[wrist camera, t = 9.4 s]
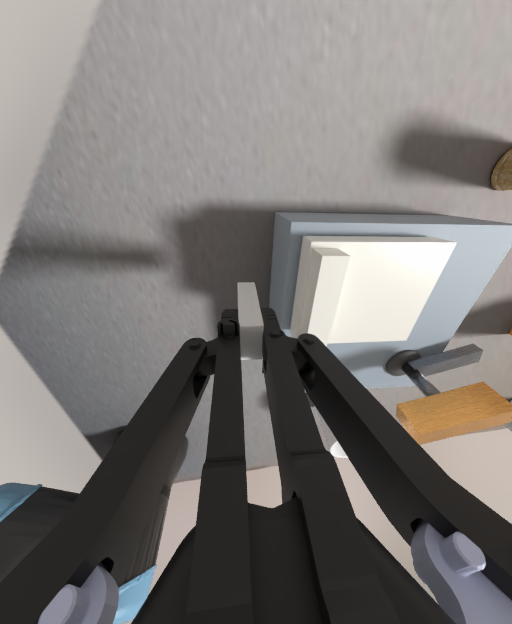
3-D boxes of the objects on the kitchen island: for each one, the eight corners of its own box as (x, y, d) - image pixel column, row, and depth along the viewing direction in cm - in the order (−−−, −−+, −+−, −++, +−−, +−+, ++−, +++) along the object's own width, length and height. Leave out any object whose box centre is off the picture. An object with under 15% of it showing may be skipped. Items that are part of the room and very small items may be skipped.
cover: (289, 331, 22) (300, 359, 19) (303, 235, 17) (321, 248, 14) (392, 328, 24) (421, 353, 20) (434, 236, 18) (482, 249, 15)
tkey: (371, 371, 26) (419, 434, 20) (472, 342, 25) (559, 399, 19) (371, 381, 28) (417, 445, 21) (468, 354, 27) (549, 412, 20)
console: (265, 354, 35) (273, 397, 28) (275, 211, 24) (292, 222, 17) (386, 349, 37) (422, 387, 30) (448, 215, 26) (530, 226, 19)
